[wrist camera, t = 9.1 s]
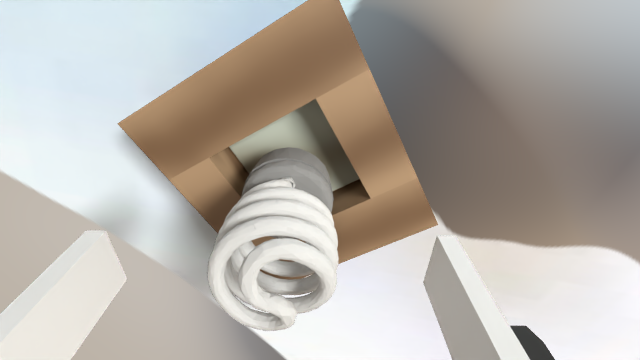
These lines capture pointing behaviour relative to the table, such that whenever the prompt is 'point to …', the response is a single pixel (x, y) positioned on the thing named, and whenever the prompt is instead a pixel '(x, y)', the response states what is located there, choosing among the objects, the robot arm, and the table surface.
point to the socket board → (289, 129)
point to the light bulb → (277, 242)
